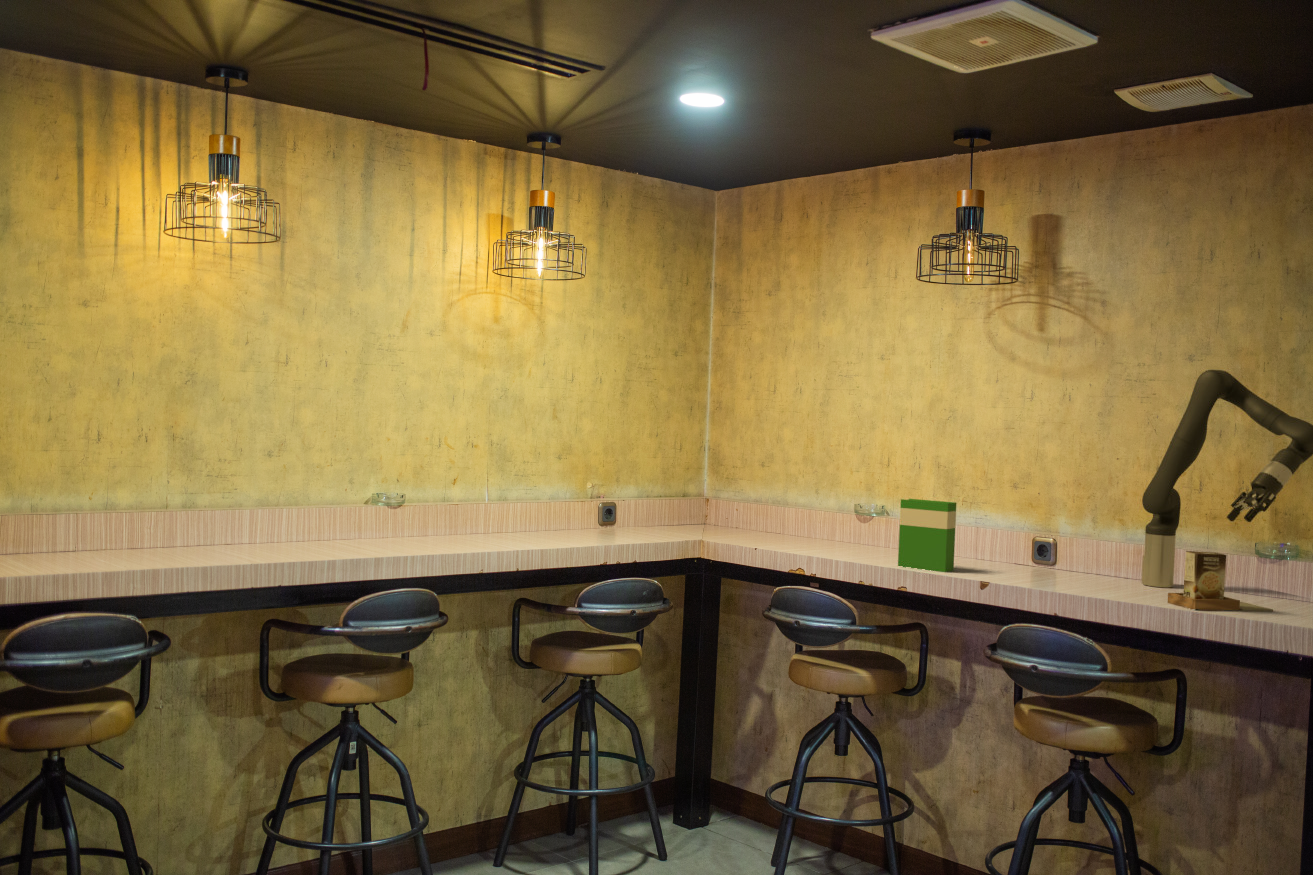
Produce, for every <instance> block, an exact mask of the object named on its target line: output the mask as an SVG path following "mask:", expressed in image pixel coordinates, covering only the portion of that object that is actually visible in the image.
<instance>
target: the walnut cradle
mask: <svg viewBox="0 0 1313 875" xmlns="http://www.w3.org/2000/svg"><path fill="white" fill-rule="evenodd" d="M1240 602H1241V600H1239V599H1236V598H1232V597H1227V596H1224V600H1222V599H1194V598H1190V597H1186V596H1183V592H1168V593H1167V604H1171V605H1175V606H1178V607H1181V606H1183V607H1182V608H1185V607H1187V608H1186V609H1189V608H1190V609H1189V610H1192V609H1199V610H1198V611H1224V610H1239V611H1241V610H1240Z"/></svg>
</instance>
